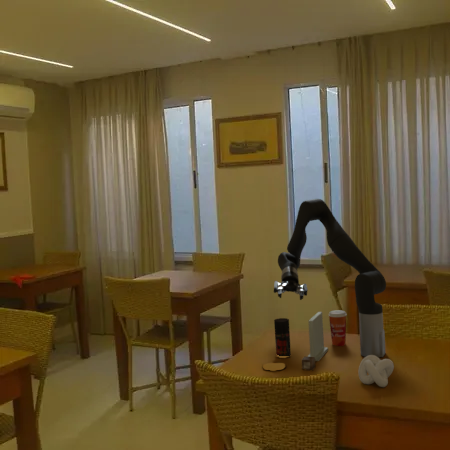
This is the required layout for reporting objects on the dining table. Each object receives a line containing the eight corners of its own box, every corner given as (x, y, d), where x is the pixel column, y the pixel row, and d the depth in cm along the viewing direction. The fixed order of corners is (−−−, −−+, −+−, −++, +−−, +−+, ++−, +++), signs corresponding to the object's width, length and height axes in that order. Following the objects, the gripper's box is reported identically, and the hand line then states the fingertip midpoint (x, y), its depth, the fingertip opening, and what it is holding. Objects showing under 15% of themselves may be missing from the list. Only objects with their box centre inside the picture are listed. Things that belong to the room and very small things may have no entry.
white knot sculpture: (350, 384, 194) (349, 359, 193) (369, 374, 202) (368, 350, 202) (380, 392, 186) (379, 365, 185) (398, 381, 194) (397, 356, 194)
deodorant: (273, 355, 231) (271, 319, 230) (286, 352, 234) (284, 317, 233) (281, 359, 226) (278, 322, 225) (293, 356, 228) (291, 320, 227)
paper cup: (328, 346, 239) (327, 314, 238) (330, 341, 246) (329, 309, 245) (347, 347, 237) (346, 314, 236) (349, 341, 244) (347, 309, 243)
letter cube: (315, 367, 214) (314, 357, 214) (312, 371, 210) (311, 360, 210) (305, 366, 216) (304, 356, 216) (301, 370, 212) (301, 359, 212)
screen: (328, 349, 234) (326, 312, 233) (318, 361, 221) (316, 321, 220) (316, 349, 236) (314, 311, 235) (306, 360, 223) (304, 320, 222)
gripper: (274, 269, 249) (274, 287, 234) (307, 272, 248) (309, 291, 233) (273, 283, 252) (272, 303, 237) (305, 286, 251) (306, 306, 236)
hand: (290, 297), depth 235 cm, fingers open, 8 cm apart
